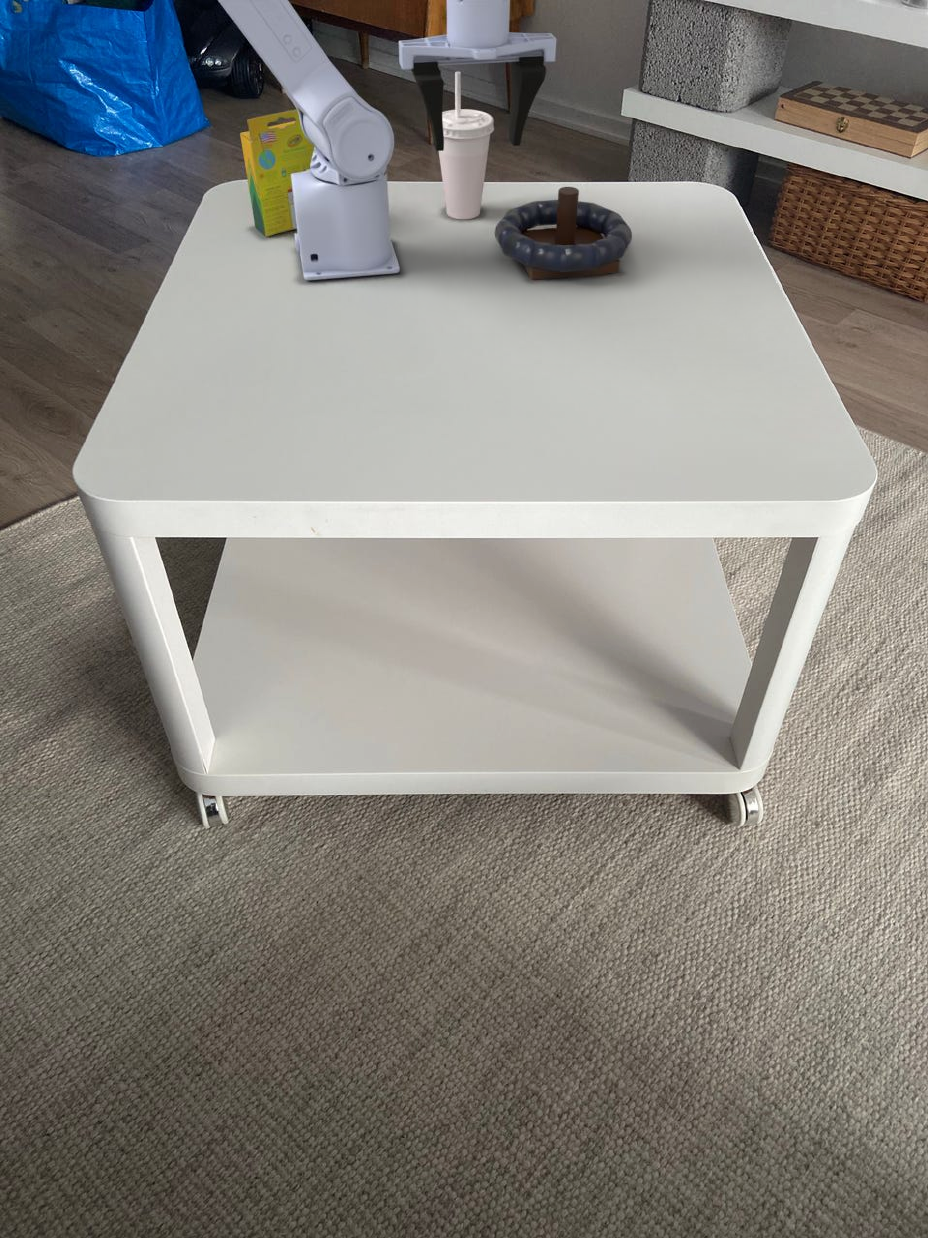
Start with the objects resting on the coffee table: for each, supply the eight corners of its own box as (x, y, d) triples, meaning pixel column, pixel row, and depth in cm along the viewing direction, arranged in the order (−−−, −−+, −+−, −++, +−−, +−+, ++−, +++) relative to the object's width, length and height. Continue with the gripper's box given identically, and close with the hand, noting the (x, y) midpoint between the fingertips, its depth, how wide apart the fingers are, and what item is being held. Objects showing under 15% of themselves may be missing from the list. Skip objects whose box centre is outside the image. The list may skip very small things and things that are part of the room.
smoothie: (436, 200, 110) (434, 62, 100) (493, 201, 110) (496, 63, 100) (432, 223, 105) (429, 81, 95) (491, 224, 105) (494, 82, 95)
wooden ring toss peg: (531, 280, 96) (534, 211, 91) (511, 242, 102) (513, 176, 97) (619, 272, 97) (627, 204, 92) (593, 235, 103) (600, 170, 98)
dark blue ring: (512, 280, 93) (513, 256, 91) (484, 224, 102) (484, 200, 101) (646, 269, 95) (649, 245, 93) (606, 214, 104) (608, 191, 102)
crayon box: (315, 213, 107) (303, 98, 99) (327, 222, 105) (316, 106, 97) (253, 228, 104) (235, 110, 96) (264, 237, 103) (247, 119, 94)
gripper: (404, -3, 83) (410, 164, 92) (569, -10, 85) (558, 154, 94) (393, -21, 88) (399, 138, 97) (549, -28, 90) (540, 129, 99)
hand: (476, 144), depth 96 cm, fingers open, 7 cm apart
